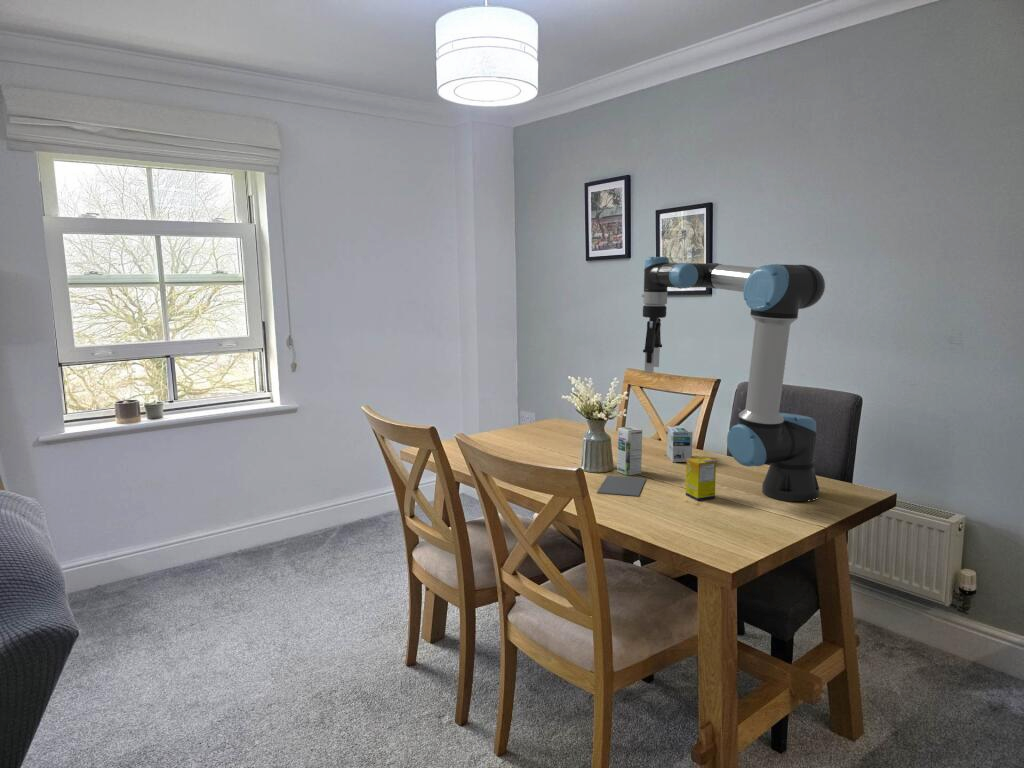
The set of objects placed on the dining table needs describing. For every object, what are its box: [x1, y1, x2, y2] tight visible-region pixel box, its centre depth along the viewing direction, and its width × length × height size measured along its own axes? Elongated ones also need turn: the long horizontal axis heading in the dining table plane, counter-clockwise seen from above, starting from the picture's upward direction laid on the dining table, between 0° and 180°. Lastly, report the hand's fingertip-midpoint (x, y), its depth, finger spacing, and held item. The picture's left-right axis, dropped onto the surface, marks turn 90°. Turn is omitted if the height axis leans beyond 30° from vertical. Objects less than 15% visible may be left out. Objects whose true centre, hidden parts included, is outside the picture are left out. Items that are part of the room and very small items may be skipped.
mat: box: [596, 475, 647, 498], centre depth 203 cm, size 18×12×1 cm, turn 162°
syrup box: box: [616, 426, 643, 477], centre depth 216 cm, size 6×6×14 cm
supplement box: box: [685, 456, 717, 502], centre depth 192 cm, size 6×6×11 cm
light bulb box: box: [666, 425, 693, 463], centre depth 233 cm, size 11×7×11 cm, turn 179°
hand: (651, 369), depth 224 cm, fingers open, 13 cm apart
